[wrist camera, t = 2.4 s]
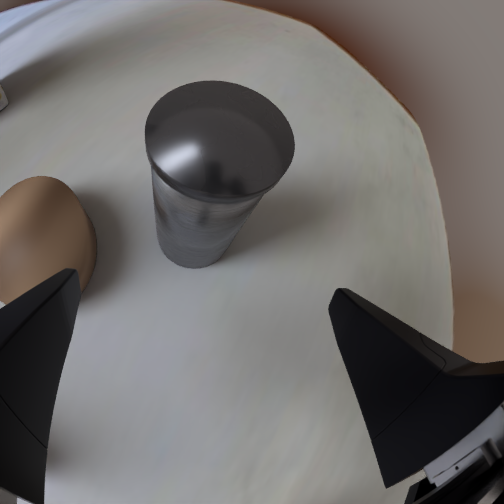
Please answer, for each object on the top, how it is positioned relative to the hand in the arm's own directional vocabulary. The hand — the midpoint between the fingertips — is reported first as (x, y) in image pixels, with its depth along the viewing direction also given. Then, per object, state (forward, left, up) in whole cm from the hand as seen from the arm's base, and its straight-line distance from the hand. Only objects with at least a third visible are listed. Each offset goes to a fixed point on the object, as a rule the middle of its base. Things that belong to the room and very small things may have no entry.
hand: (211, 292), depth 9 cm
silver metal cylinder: (+4, -5, -13) cm, 15 cm away
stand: (+12, +5, -13) cm, 19 cm away
